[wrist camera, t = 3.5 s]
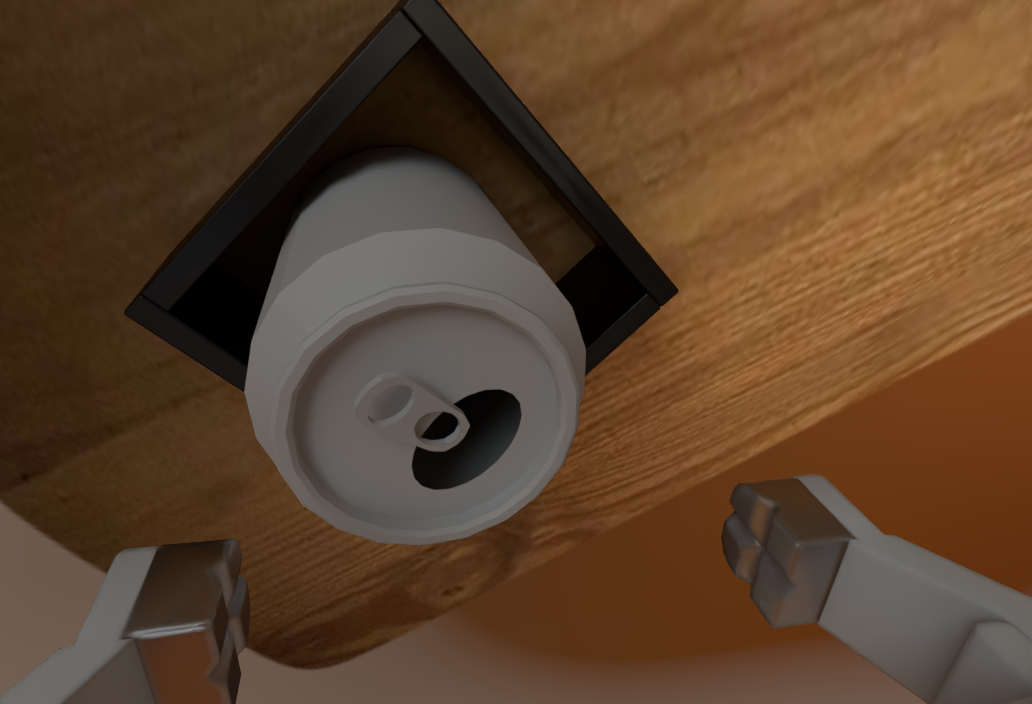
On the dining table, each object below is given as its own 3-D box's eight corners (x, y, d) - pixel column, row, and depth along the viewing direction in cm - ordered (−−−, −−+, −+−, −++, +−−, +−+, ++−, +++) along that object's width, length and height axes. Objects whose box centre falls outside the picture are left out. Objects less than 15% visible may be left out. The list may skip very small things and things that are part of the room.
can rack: (168, 254, 21) (121, 314, 17) (407, -8, 19) (423, -18, 15) (418, 435, 27) (431, 514, 22) (623, 244, 25) (680, 291, 20)
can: (411, 375, 25) (451, 619, 15) (243, 262, 22) (144, 478, 11) (538, 236, 24) (681, 400, 13) (381, 91, 20) (409, 162, 10)
